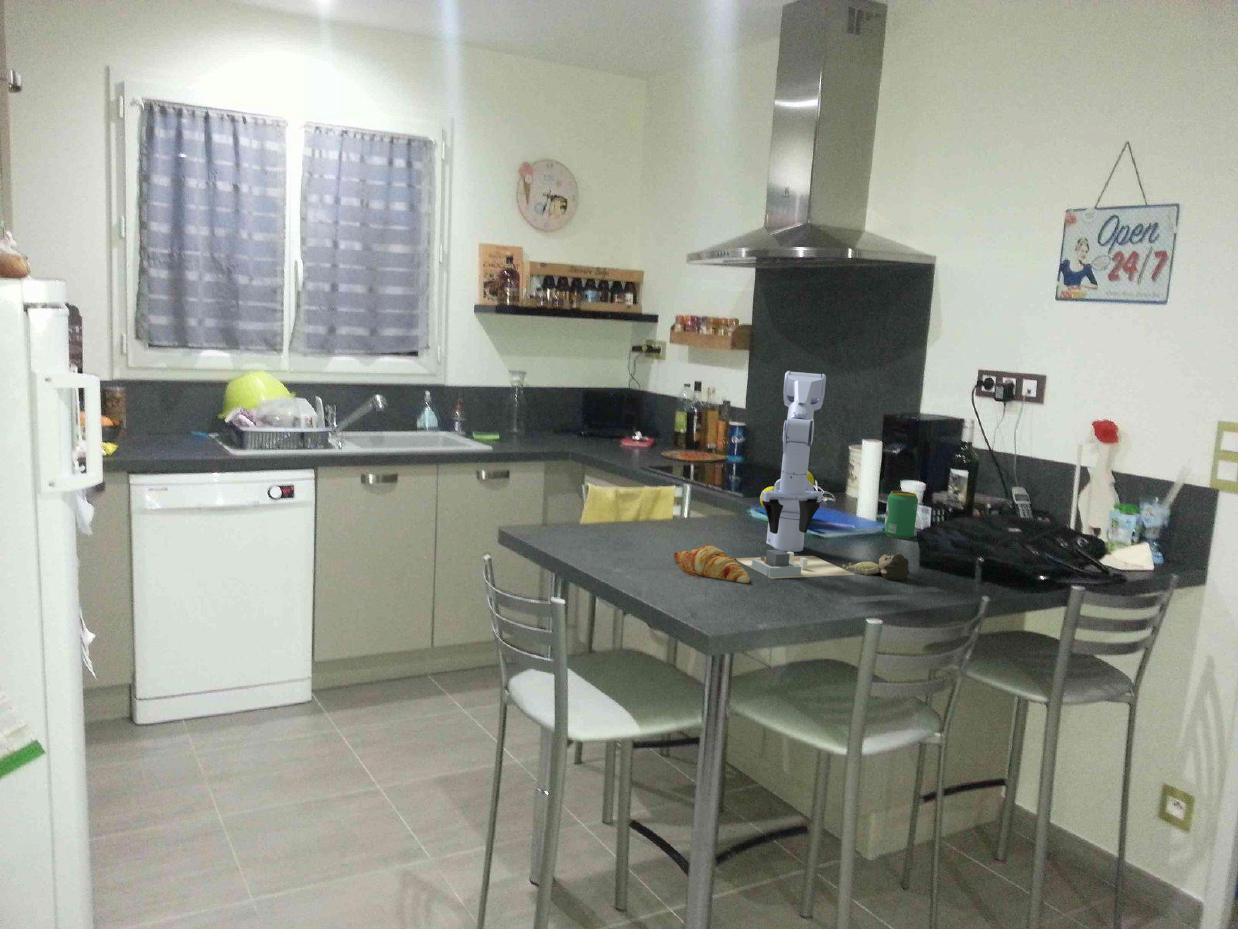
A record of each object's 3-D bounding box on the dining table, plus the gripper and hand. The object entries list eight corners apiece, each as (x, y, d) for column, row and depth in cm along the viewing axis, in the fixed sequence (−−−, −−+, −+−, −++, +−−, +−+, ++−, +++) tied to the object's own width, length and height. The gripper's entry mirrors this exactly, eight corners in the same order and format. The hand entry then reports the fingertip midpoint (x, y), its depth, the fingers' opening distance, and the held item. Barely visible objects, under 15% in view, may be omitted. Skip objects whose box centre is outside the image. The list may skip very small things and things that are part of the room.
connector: (755, 565, 229) (757, 545, 228) (769, 564, 230) (771, 545, 230) (774, 574, 222) (776, 554, 221) (788, 574, 223) (790, 554, 222)
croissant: (754, 601, 216) (768, 567, 217) (731, 586, 209) (746, 551, 210) (679, 576, 230) (693, 544, 232) (655, 561, 223) (669, 528, 224)
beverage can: (886, 531, 283) (891, 489, 282) (915, 535, 280) (920, 493, 278) (881, 536, 276) (886, 493, 274) (911, 540, 273) (916, 497, 271)
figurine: (853, 551, 237) (913, 552, 227) (855, 579, 237) (916, 580, 228) (836, 556, 231) (898, 557, 221) (839, 584, 231) (900, 586, 222)
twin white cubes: (785, 562, 234) (786, 551, 234) (790, 561, 234) (791, 551, 234) (802, 569, 228) (803, 559, 227) (806, 569, 228) (807, 559, 228)
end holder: (751, 568, 226) (752, 559, 226) (782, 566, 229) (783, 558, 229) (769, 577, 219) (770, 568, 219) (800, 575, 222) (801, 566, 222)
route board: (732, 562, 234) (733, 558, 234) (812, 559, 242) (813, 555, 242) (771, 582, 218) (771, 578, 218) (855, 579, 227) (855, 574, 227)
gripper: (775, 475, 218) (769, 537, 220) (832, 475, 223) (825, 535, 225) (758, 470, 224) (753, 529, 226) (814, 470, 230) (808, 528, 232)
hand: (788, 532), depth 226 cm, fingers open, 7 cm apart
